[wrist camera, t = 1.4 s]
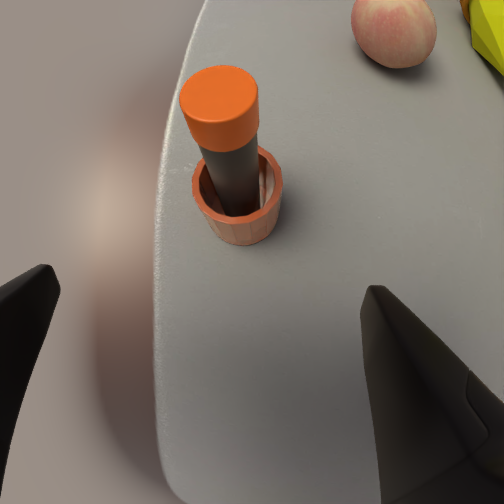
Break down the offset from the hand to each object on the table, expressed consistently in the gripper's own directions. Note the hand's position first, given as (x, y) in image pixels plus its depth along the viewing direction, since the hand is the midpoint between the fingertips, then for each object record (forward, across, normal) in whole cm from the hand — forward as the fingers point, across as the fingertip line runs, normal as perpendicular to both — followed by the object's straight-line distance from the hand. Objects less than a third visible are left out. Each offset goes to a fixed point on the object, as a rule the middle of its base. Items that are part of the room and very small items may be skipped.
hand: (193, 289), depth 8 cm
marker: (+13, 0, +4) cm, 14 cm away
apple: (+26, -12, -7) cm, 29 cm away
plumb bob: (+33, -30, -15) cm, 47 cm away
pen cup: (+13, 0, +4) cm, 14 cm away
